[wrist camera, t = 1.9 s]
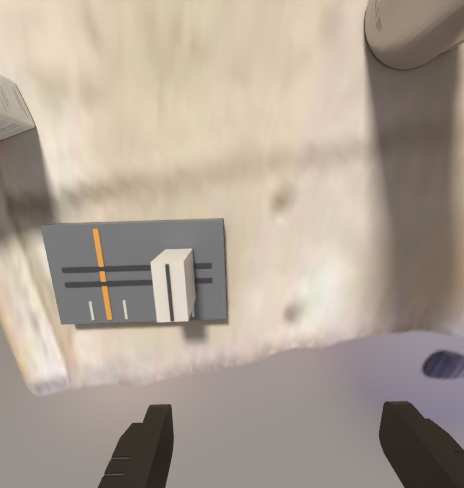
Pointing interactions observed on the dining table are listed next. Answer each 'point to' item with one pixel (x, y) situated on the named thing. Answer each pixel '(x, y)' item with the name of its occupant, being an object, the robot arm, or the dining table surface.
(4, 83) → the ink box
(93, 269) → the console board
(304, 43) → the dining table surface
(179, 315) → the fader cap
